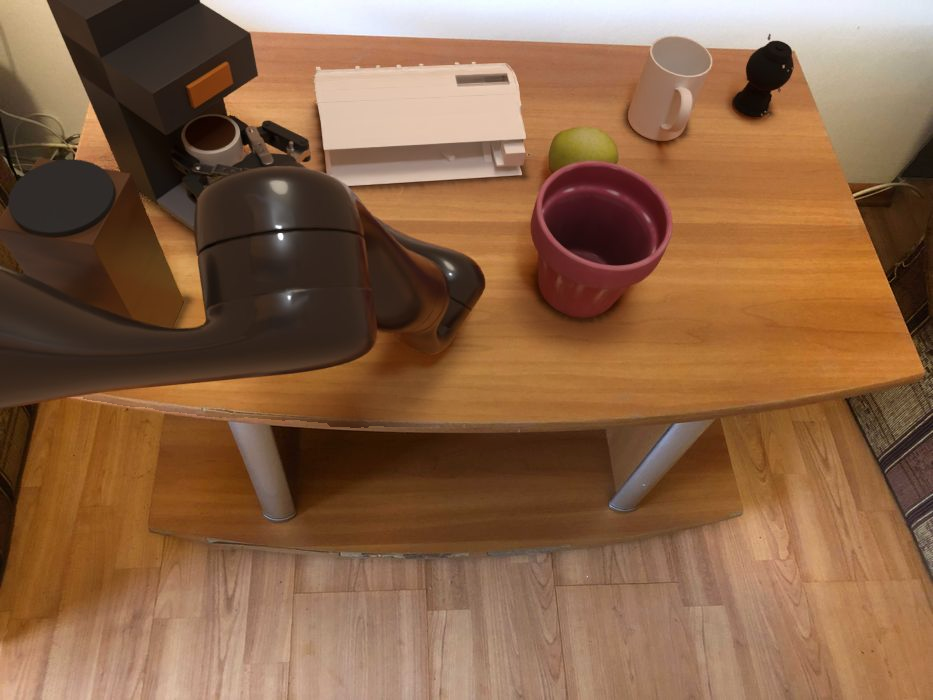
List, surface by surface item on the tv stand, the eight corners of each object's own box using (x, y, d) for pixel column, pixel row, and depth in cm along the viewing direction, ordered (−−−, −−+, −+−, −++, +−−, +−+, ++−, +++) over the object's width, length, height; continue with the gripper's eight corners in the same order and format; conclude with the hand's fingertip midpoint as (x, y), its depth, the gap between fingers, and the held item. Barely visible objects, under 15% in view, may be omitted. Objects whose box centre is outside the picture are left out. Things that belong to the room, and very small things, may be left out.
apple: (605, 217, 91) (623, 169, 84) (535, 194, 91) (547, 145, 85) (619, 174, 95) (637, 126, 88) (552, 153, 95) (564, 103, 89)
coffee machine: (295, 191, 88) (266, 9, 68) (219, 250, 83) (163, 71, 62) (202, 127, 92) (148, -63, 72) (123, 180, 87) (41, -10, 66)
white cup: (192, 207, 84) (172, 147, 77) (209, 170, 88) (192, 109, 80) (244, 216, 84) (229, 157, 77) (259, 178, 87) (246, 118, 80)
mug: (624, 99, 102) (646, 32, 93) (679, 104, 103) (707, 37, 94) (633, 163, 96) (658, 98, 87) (692, 167, 96) (723, 103, 87)
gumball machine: (779, 121, 103) (815, 60, 94) (743, 129, 101) (776, 67, 93) (754, 90, 106) (786, 28, 97) (719, 97, 104) (748, 34, 96)
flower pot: (642, 344, 81) (681, 274, 70) (516, 333, 81) (535, 260, 70) (633, 243, 89) (667, 166, 78) (517, 232, 88) (535, 152, 77)
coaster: (-8, 227, 59) (-11, 222, 58) (38, 157, 63) (35, 151, 62) (92, 244, 59) (89, 240, 58) (130, 173, 63) (128, 168, 62)
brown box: (79, 351, 75) (-8, 227, 59) (110, 288, 79) (38, 157, 63) (156, 364, 75) (92, 244, 59) (184, 301, 79) (130, 173, 63)
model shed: (324, 188, 89) (319, 144, 83) (315, 104, 96) (311, 59, 90) (524, 175, 93) (534, 132, 87) (502, 96, 100) (509, 52, 94)
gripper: (357, 150, 76) (241, 76, 81) (254, 231, 70) (134, 145, 74) (359, 200, 83) (252, 129, 87) (266, 278, 76) (155, 197, 80)
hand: (198, 136), depth 81 cm, fingers closed on white cup, 6 cm apart
